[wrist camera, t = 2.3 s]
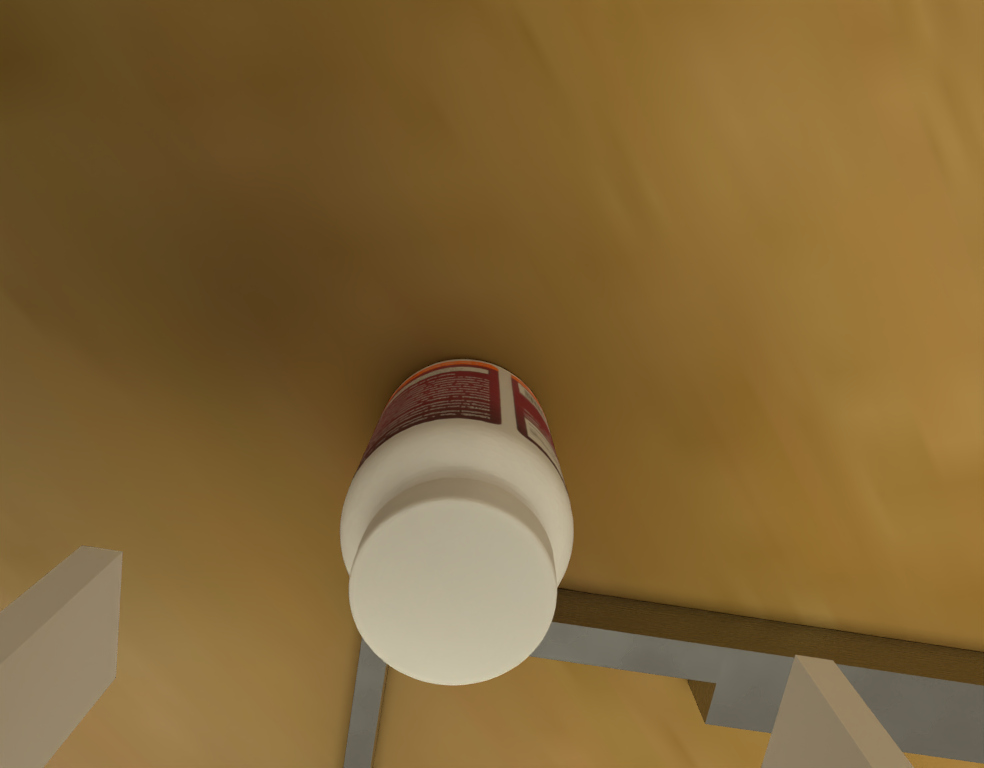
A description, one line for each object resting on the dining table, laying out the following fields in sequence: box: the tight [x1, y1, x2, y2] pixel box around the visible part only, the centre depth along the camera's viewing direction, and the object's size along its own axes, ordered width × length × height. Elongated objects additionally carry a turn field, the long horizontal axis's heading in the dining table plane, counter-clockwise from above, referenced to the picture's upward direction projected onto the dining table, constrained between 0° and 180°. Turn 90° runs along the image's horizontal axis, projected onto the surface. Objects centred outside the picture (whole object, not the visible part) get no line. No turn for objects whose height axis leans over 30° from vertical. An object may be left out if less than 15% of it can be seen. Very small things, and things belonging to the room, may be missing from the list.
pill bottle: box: [340, 359, 574, 685], centre depth 21 cm, size 6×6×11 cm
